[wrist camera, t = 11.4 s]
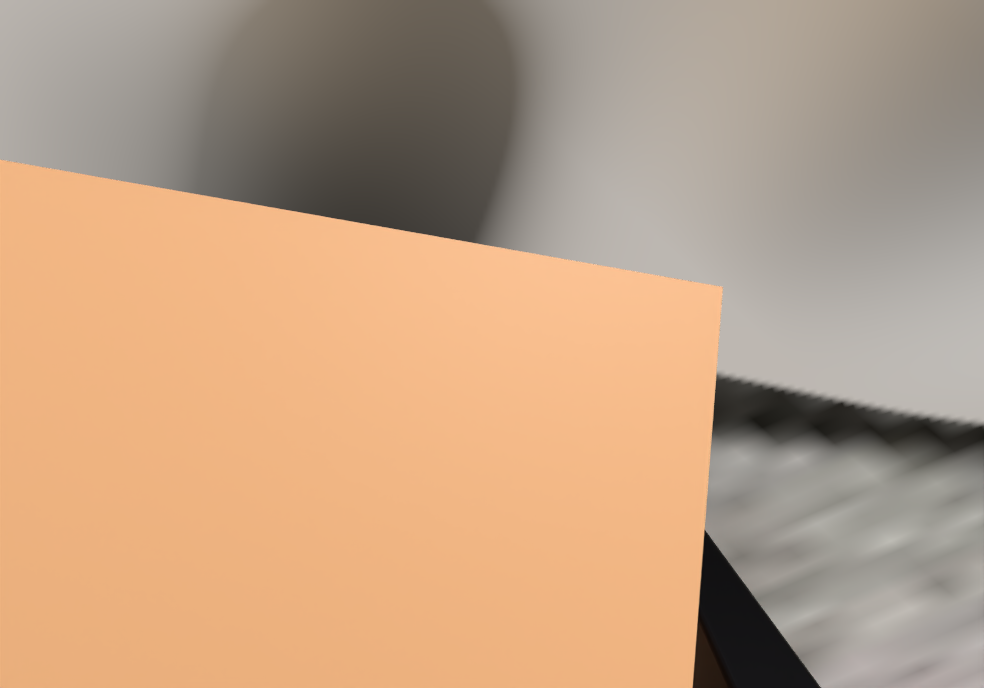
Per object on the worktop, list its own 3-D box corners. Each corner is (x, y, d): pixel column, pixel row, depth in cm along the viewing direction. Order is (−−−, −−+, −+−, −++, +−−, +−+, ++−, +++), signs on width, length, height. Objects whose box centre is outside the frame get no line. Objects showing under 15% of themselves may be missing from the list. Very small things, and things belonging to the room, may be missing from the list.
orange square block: (522, 661, 14) (837, 1773, 2) (292, 618, 15) (-852, 1401, 2) (556, 429, 16) (853, 194, 3) (348, 391, 16) (-101, 29, 4)
